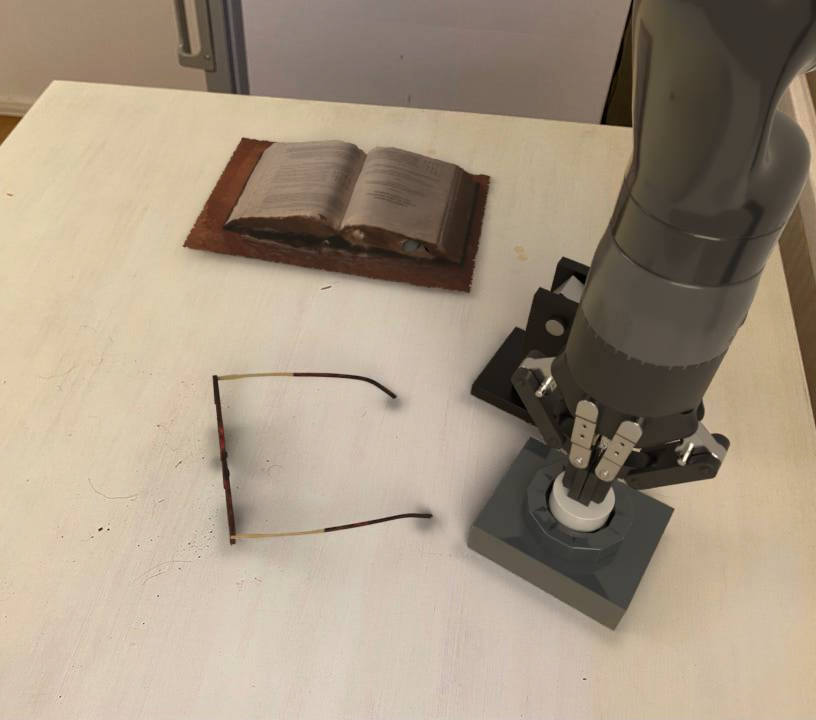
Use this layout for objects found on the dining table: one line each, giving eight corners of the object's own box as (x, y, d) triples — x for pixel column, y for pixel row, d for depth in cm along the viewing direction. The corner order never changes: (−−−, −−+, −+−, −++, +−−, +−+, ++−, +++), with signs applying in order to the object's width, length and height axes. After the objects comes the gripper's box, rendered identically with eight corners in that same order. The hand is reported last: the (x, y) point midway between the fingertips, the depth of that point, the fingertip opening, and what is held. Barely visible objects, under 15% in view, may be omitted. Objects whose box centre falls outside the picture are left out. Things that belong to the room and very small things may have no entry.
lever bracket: (622, 385, 68) (663, 281, 59) (583, 450, 63) (622, 348, 54) (513, 336, 71) (537, 231, 63) (470, 394, 67) (489, 291, 58)
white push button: (617, 500, 55) (624, 486, 54) (594, 543, 53) (601, 530, 52) (563, 472, 57) (568, 457, 55) (538, 513, 55) (543, 499, 53)
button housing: (661, 531, 59) (683, 494, 55) (614, 631, 54) (634, 598, 50) (522, 460, 63) (534, 421, 59) (467, 547, 58) (475, 510, 54)
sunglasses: (214, 410, 66) (211, 370, 62) (390, 393, 69) (398, 353, 65) (232, 570, 57) (230, 534, 53) (435, 543, 59) (447, 506, 56)
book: (470, 301, 75) (477, 262, 71) (181, 253, 78) (175, 214, 75) (489, 184, 88) (496, 147, 85) (242, 147, 92) (240, 111, 89)
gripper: (505, 297, 41) (467, 484, 54) (774, 413, 36) (660, 589, 49) (567, 219, 45) (517, 411, 58) (816, 314, 40) (701, 501, 53)
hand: (583, 492), depth 54 cm, fingers closed
